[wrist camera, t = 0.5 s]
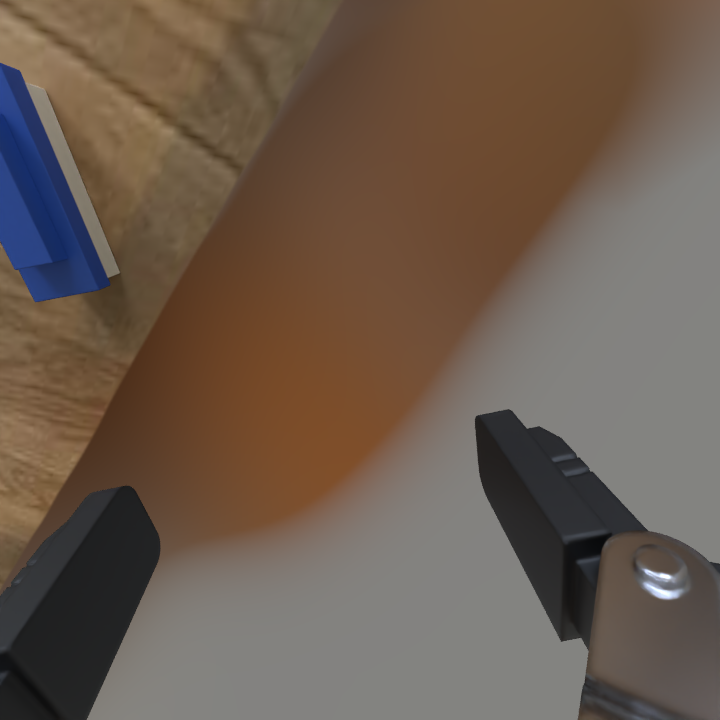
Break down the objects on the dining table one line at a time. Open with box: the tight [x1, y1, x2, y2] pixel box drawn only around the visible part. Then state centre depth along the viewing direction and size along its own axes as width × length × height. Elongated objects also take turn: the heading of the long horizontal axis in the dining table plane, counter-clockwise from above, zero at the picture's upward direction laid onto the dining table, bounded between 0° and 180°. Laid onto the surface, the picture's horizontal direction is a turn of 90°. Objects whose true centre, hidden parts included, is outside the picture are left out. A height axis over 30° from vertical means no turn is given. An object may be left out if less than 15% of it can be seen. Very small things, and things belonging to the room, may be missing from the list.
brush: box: [0, 63, 120, 302], centre depth 28 cm, size 14×5×6 cm, turn 10°
